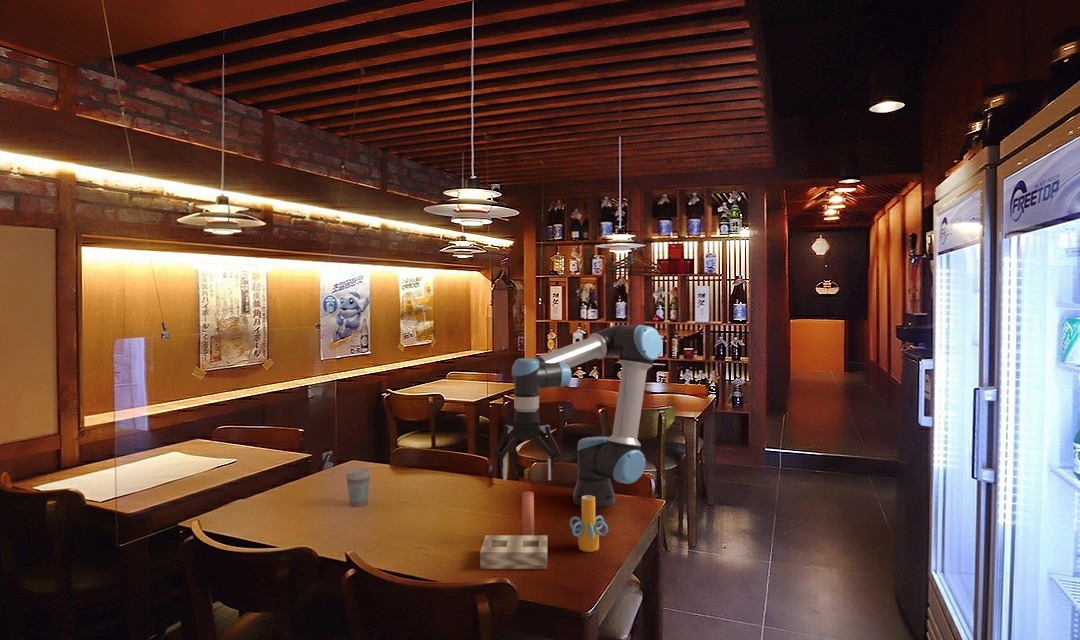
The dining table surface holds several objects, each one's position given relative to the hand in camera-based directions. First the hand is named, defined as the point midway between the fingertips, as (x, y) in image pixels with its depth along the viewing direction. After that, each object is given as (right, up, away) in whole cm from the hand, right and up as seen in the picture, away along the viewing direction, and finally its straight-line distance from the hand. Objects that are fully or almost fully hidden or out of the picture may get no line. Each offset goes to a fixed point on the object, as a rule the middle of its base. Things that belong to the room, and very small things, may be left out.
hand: (527, 479), depth 185 cm
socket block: (-3, -19, -14) cm, 24 cm away
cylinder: (+18, -19, -7) cm, 27 cm away
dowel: (0, -18, +1) cm, 18 cm away
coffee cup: (-62, -18, +35) cm, 73 cm away
